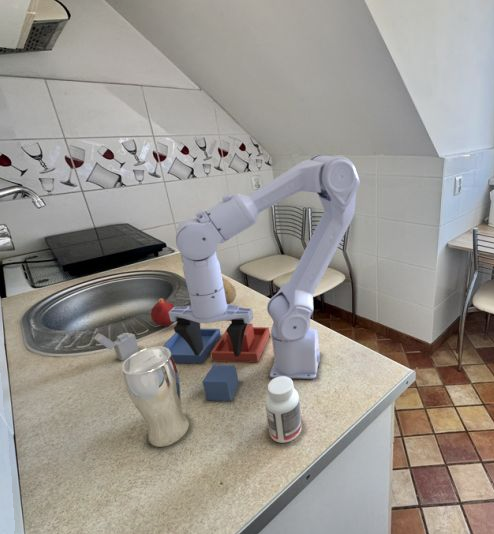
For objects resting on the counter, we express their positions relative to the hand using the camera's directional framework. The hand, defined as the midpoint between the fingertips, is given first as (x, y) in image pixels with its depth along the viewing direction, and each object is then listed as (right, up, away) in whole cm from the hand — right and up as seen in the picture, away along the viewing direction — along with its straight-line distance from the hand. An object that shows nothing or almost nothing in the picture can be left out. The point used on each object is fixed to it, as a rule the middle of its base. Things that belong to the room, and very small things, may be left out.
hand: (218, 352), depth 61 cm
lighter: (-26, -5, +12) cm, 29 cm away
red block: (0, -2, +15) cm, 15 cm away
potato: (-11, +4, +31) cm, 33 cm away
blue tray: (-12, -3, +14) cm, 19 cm away
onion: (-22, +1, +24) cm, 33 cm away
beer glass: (-6, -12, -6) cm, 15 cm away
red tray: (0, -3, +15) cm, 15 cm away
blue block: (0, -8, +2) cm, 8 cm away
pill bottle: (+14, -12, -6) cm, 19 cm away
